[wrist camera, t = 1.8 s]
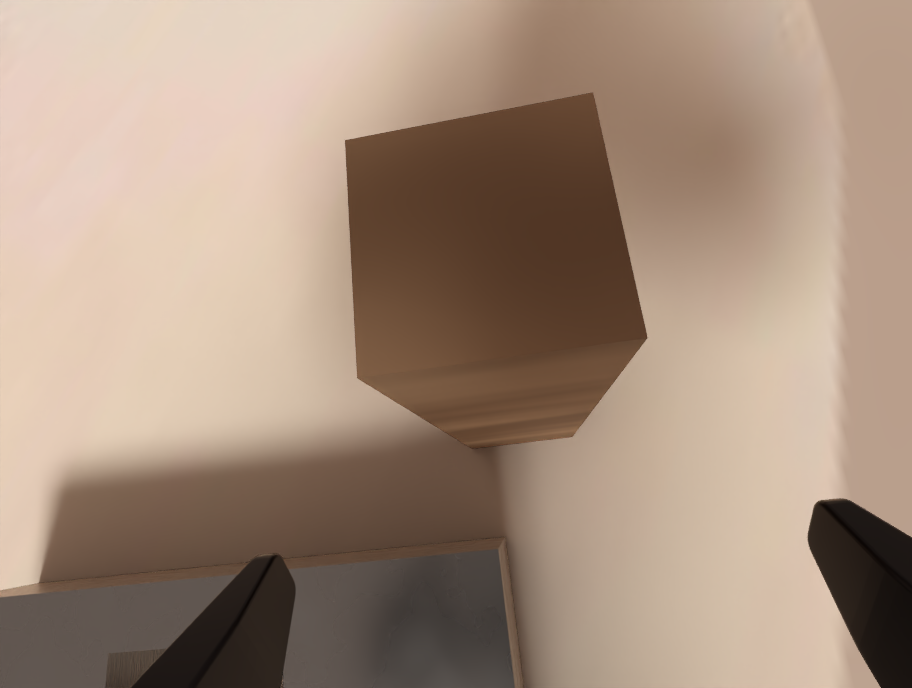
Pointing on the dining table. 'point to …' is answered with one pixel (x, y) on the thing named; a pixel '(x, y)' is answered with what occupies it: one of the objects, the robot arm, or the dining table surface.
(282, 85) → the dining table surface
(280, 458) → the dining table surface
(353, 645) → the rail block
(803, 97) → the dining table surface
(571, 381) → the walnut peg
